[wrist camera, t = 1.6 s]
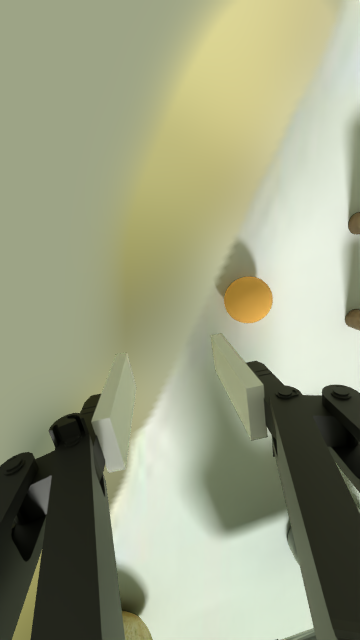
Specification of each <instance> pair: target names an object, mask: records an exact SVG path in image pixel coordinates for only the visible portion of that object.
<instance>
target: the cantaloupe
mask: <svg viewBox="0 0 360 640" xmlns="http://www.w3.org/2000/svg"><path fill="white" fill-rule="evenodd" d="M122 617H123V625H124V634H125V640H153V639H152V637H151V634H150V632H149V630H148V628H147V626H146V625H145V623H144V622H143V621H142V620H141V618H140V617H139V616H137V615H135V614H133V613H130V612H126V611H122Z"/></svg>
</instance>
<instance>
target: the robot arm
mask: <svg viewBox="0 0 360 640" xmlns="http://www.w3.org/2000/svg"><path fill="white" fill-rule="evenodd" d="M210 336H211V343H212V350H213V357H214V364H215V371H216V373H217V375H218V377H219V379H220V381H221V383H222V385H223V386H224V388H225V390H226V392H227V394H228V396H229V398H230V400H231V402H232V404H233V406H234V408H235V410H236V412H237V414H238V416H239V418H240V419H241V421H242V423H243V425H244V427H245V429H246V431H247V433H248V435H249V437H250V439H251V441H252V440H256V439H261V438H265V437H268V436H267V428H268V429H269V431H270V432H271V434H272V445H273V457H276V461H277V466H278V470H279V475H280V479H281V484H282V488H283V493H284V497H285V501H286V506H287V510H288V515H289V519H290V524H291V528H290V530H289V533H288V544H289V547H290V549H291V551H292V553H293V555H294V557H295V559H296V561H297V563H298V564H299V565H300V568H301V573H302V577H303V581H304V586H305V590H306V595H307V599H308V604H309V608H310V613H311V617H312V621H313V626H314V628H313V629H310V630H307V631H304V632H301V633H299V634H296V635H293V636H290V637H287V638H284V639H282V640H360V508H359V507H358V506H357V505H355V503H354V501H353V498H352V496H351V494H350V492H349V490H348V488H347V486H346V484H345V482H344V480H343V478H342V476H341V474H340V472H339V470H338V468H337V465H338V466H339V467H340V468H341V470H342V471H343V472H344V473H345V475H346V476H347V477H348V478H349V480H350V481H351V482H352V483H353V485H354V486H355V487H356V489H357V490H358V491H359V492H360V393H359V392H357V391H356V390H354V389H352V388H350V387H347V386H343V385H329V386H326V387H324V388H323V389H322V396H313V395H302V394H301V392H300V391H299V390H297V389H296V388H294V387H290V386H284V385H283V384H282V383H281V381H280V380H279V379H278V378H277V377H276V376H275V375H274V374H272V372H271V371H270V370H268V368H267V367H266V366H265V365H264V364H262V363H260V362H258V361H252V362H248V363H245V362H244V360H243V359H242V358H241V357H240V356H239V354H238V353H237V352H236V351H235V349H234V348H233V347H232V346H231V345H230V343H229V342H228V341H227V340H226V339H225V337H224V336H223V335H222V334H221V333H220V334H215V335H210ZM135 393H136V385H135V381H134V377H133V373H132V369H131V365H130V361H129V357H128V354H127V352H125V353H120V354H116V356H115V358H114V361H113V364H112V366H111V369H110V372H109V375H108V377H107V380H106V383H105V386H104V389H103V391H102V393H101V394H97V395H93V396H91V397H90V398H89V399H88V400H87V401H86V402H85V403H84V406H83V408H82V410H81V412H80V413H72V414H69V415H66V416H64V417H62V418H60V419H59V420H57V421H56V422H55V423H54V424H53V425H52V426H51V427H50V429H49V433H50V436H51V438H52V440H53V443H54V445H55V451H52V452H51V453H48V454H46V455H44V456H42V457H40V458H37V459H35V458H34V456H33V454H32V453H29V452H25V453H21V454H18V455H16V456H13V457H12V458H10V459H8V460H7V461H6V462H5V463H3V464H2V465H1V466H0V640H12V637H13V634H14V631H15V628H16V625H17V622H18V619H19V616H20V613H21V610H22V607H23V604H24V601H25V598H26V595H27V592H28V589H29V586H30V583H31V580H32V578H33V574H34V571H35V569H36V565H37V563H38V560H39V557H40V554H41V551H42V556H41V563H40V571H39V579H38V587H37V595H36V602H35V609H34V617H33V625H32V633H31V640H125V634H124V625H123V617H122V609H121V601H120V593H119V585H118V577H117V569H116V561H115V552H114V544H113V536H112V528H111V520H110V512H109V504H108V497H107V488H106V481H105V478H104V475H103V471H104V466H105V464H106V467H107V470H108V473H110V472H114V471H119V470H124V469H126V462H127V455H128V447H129V439H130V432H131V423H132V415H133V408H134V400H135ZM335 462H336V463H337V465H336V463H335ZM276 640H278V639H276Z"/></svg>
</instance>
